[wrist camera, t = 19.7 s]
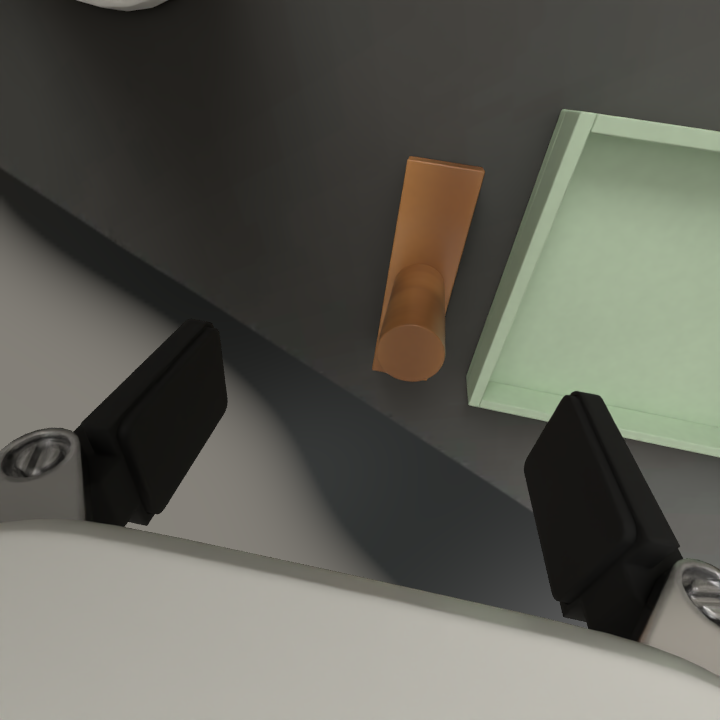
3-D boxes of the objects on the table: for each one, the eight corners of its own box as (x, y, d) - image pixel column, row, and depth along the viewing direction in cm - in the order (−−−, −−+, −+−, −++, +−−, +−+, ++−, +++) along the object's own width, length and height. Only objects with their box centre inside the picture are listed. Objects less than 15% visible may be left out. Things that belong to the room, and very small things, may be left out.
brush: (377, 348, 24) (351, 447, 17) (411, 151, 18) (391, 186, 11) (428, 358, 24) (422, 462, 17) (480, 162, 18) (504, 205, 11)
